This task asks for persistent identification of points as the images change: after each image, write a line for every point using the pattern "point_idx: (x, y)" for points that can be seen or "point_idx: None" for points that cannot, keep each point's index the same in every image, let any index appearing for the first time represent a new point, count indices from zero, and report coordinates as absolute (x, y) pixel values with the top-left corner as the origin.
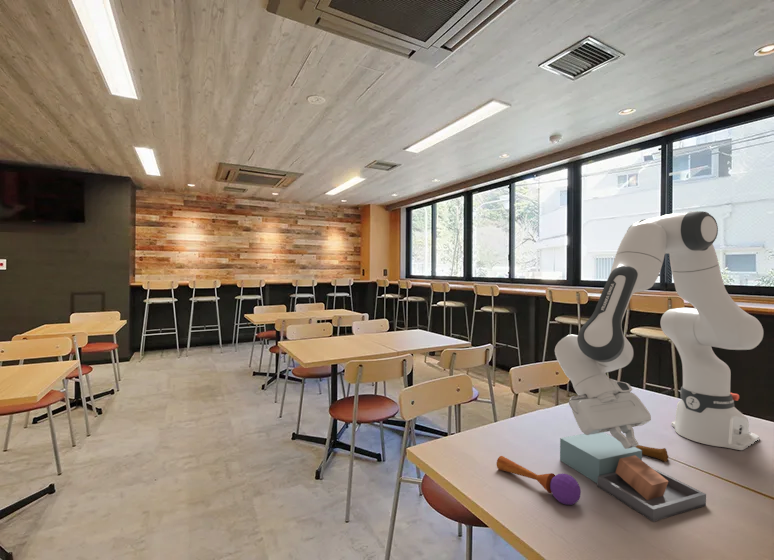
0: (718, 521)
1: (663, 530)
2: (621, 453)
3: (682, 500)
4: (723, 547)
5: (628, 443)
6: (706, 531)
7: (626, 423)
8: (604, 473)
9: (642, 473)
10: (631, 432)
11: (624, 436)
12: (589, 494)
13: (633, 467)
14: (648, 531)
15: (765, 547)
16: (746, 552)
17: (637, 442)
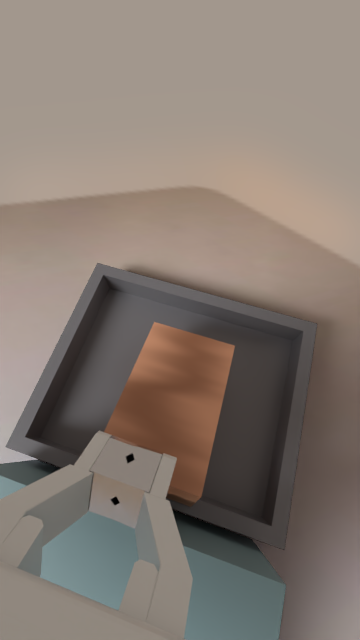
0: (161, 250)
1: (314, 310)
2: (103, 528)
3: (191, 290)
4: (258, 226)
5: (174, 467)
6: (228, 256)
7: (19, 572)
8: (229, 541)
9: (204, 387)
10: (53, 495)
11: (155, 513)
12: (348, 528)
13: (202, 424)
14: (353, 330)
15: (188, 188)
16: (237, 202)
17: (97, 436)
